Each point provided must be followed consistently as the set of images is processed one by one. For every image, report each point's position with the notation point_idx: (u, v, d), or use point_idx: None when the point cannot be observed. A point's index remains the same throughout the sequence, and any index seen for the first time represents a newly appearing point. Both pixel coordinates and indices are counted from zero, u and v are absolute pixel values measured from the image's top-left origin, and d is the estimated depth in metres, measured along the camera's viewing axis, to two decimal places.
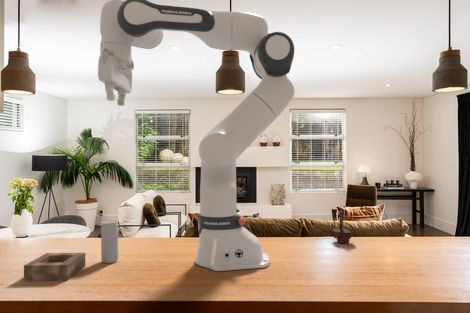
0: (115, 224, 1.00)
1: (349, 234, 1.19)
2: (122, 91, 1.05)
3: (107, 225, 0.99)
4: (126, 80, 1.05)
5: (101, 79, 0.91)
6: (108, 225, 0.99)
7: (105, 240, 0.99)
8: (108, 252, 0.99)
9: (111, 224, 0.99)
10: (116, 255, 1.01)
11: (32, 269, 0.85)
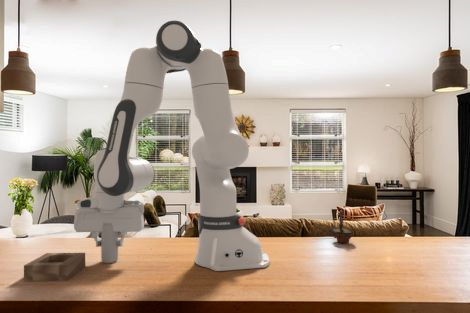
0: None
1: (349, 234, 1.19)
2: None
3: (107, 225, 0.99)
4: None
5: (140, 230, 1.01)
6: (108, 225, 0.99)
7: (105, 240, 0.99)
8: (108, 252, 0.99)
9: (111, 224, 0.99)
10: (116, 255, 1.01)
11: (32, 269, 0.85)
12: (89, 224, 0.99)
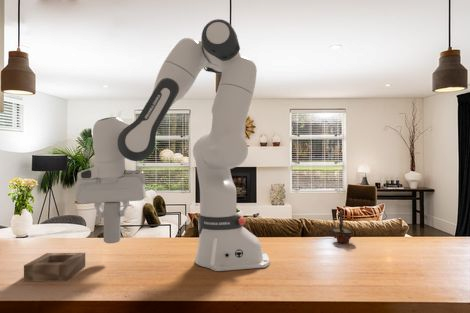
0: (118, 204, 1.00)
1: (349, 234, 1.19)
2: None
3: (110, 205, 0.99)
4: None
5: (142, 199, 1.01)
6: (111, 205, 0.99)
7: (108, 220, 0.99)
8: (111, 231, 0.99)
9: (114, 204, 0.99)
10: (119, 235, 1.01)
11: (32, 269, 0.85)
12: (91, 195, 0.99)
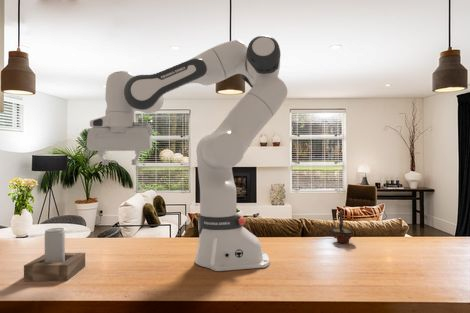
0: (61, 232, 0.90)
1: (349, 234, 1.19)
2: (104, 151, 1.09)
3: (51, 233, 0.89)
4: None
5: (148, 149, 1.08)
6: (52, 233, 0.89)
7: (49, 250, 0.88)
8: None
9: (56, 232, 0.89)
10: None
11: (32, 269, 0.85)
12: (101, 143, 1.06)
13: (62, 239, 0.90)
